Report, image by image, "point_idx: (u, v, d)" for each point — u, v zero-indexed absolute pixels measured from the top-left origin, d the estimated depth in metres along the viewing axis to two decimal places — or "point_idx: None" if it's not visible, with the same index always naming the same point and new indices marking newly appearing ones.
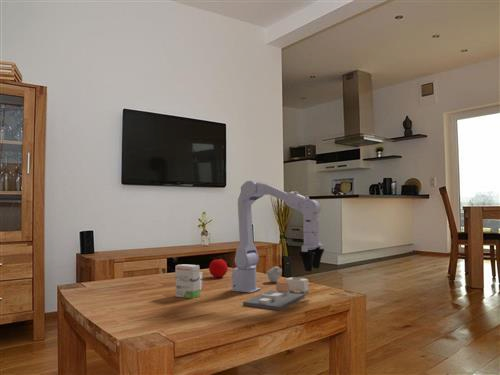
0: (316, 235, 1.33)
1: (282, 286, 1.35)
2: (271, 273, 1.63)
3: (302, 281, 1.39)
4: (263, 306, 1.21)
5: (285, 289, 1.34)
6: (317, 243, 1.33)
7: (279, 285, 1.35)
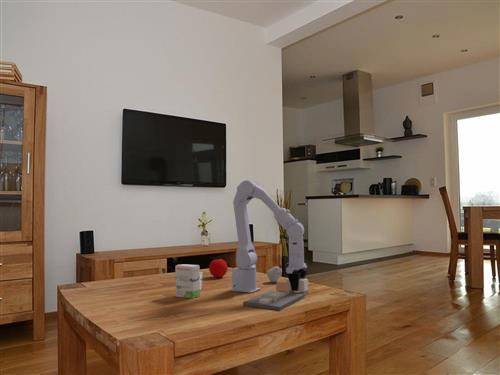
0: (301, 257, 1.40)
1: (282, 286, 1.35)
2: (271, 273, 1.63)
3: (302, 281, 1.39)
4: (263, 306, 1.21)
5: (285, 289, 1.34)
6: (301, 265, 1.40)
7: (279, 285, 1.35)
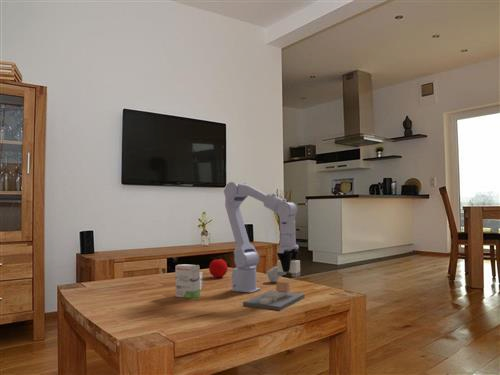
0: (292, 237, 1.36)
1: (282, 286, 1.35)
2: (271, 273, 1.63)
3: (294, 262, 1.35)
4: (263, 306, 1.21)
5: (285, 289, 1.34)
6: (293, 245, 1.36)
7: (279, 285, 1.35)
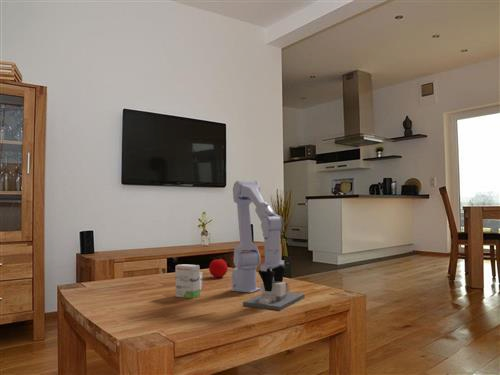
0: (277, 253, 1.28)
1: None
2: None
3: (278, 285, 1.26)
4: (263, 306, 1.21)
5: None
6: (278, 262, 1.28)
7: None
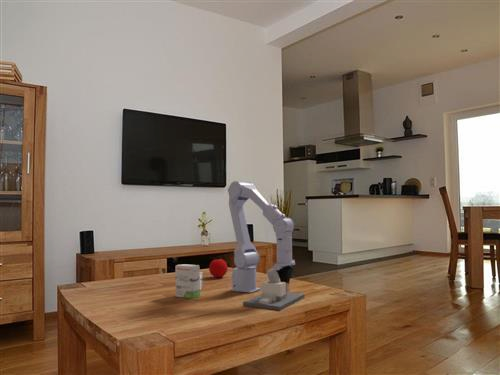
0: (288, 253, 1.36)
1: None
2: (271, 273, 1.63)
3: (278, 285, 1.26)
4: (263, 306, 1.21)
5: None
6: (289, 261, 1.36)
7: None
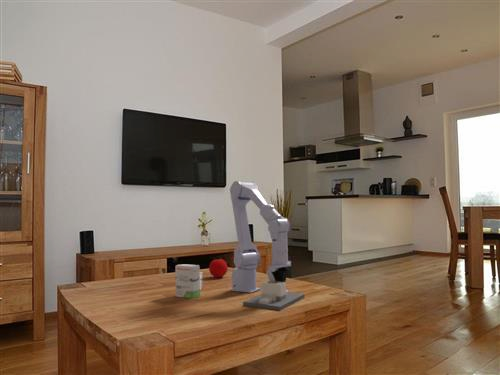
0: (284, 254, 1.33)
1: None
2: (271, 273, 1.63)
3: (278, 285, 1.26)
4: (263, 306, 1.21)
5: None
6: (285, 262, 1.33)
7: None
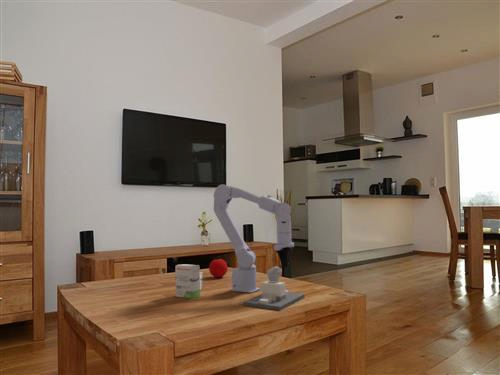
0: (288, 235, 1.45)
1: None
2: (271, 273, 1.63)
3: (278, 285, 1.26)
4: (263, 306, 1.21)
5: None
6: (289, 242, 1.46)
7: None
